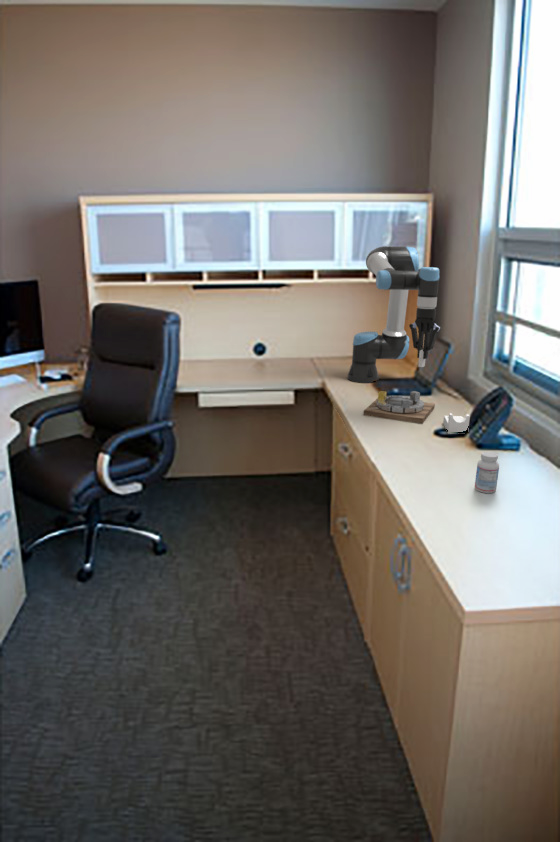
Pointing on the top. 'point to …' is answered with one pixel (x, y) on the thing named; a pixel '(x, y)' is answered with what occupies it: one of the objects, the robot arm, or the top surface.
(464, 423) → the bracket
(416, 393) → the grey block ring
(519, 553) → the top surface
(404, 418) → the walnut base
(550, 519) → the top surface
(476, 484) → the pill bottle
